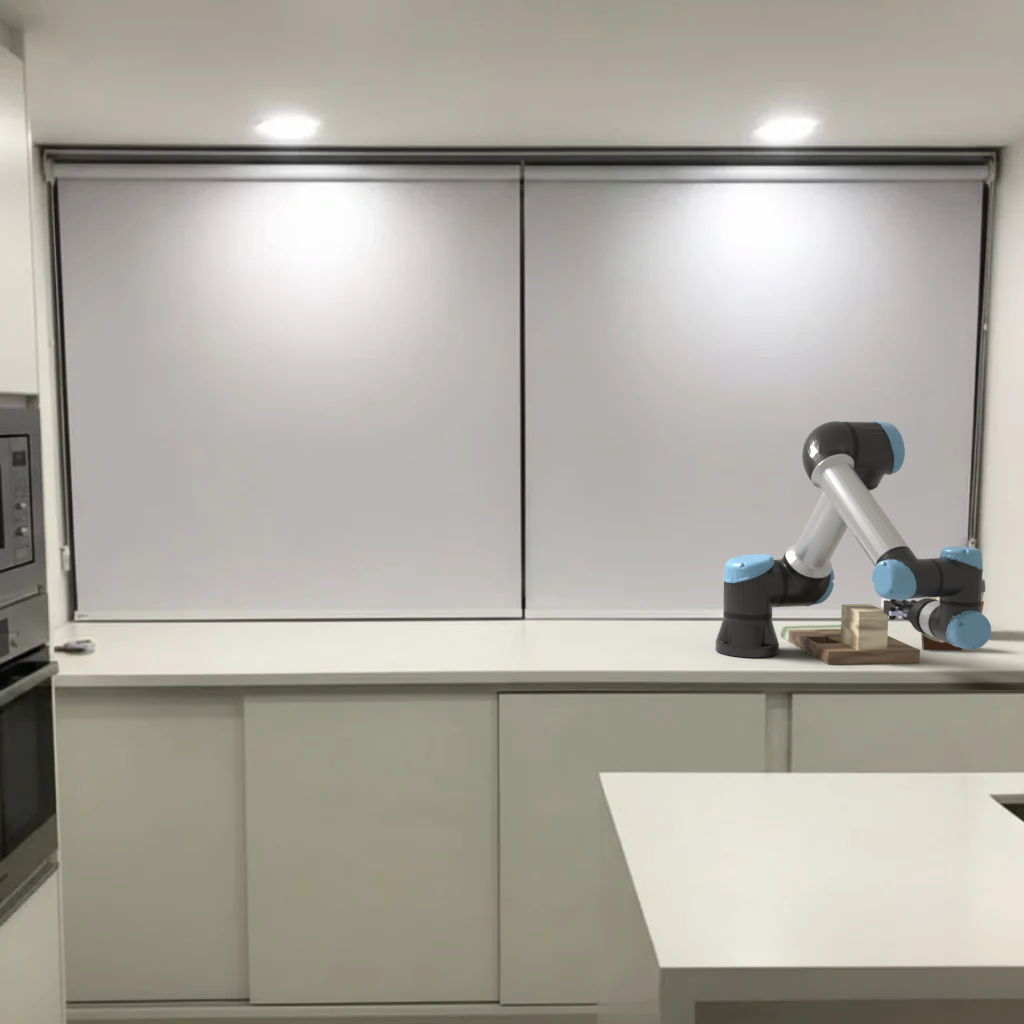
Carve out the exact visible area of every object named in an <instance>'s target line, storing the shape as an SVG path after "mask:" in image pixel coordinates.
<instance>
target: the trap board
mask: <svg viewBox="0 0 1024 1024" xmlns="http://www.w3.org/2000/svg"><path fill="white" fill-rule="evenodd" d="M780 636H781V637H780V638H782V637H783V638H782V639H784V638H785V639H787V640H788V641H787V640H786V641H787V642H789V641H790V642H789V643H791V644H792V643H793V644H792V645H794V644H795V645H794V646H796V647H797V646H798V647H797V648H799V647H800V648H799V649H801V648H802V649H801V650H802V651H804V650H805V651H804V652H806V651H807V652H806V653H808V652H809V653H810V655H811V654H812V655H811V656H813V655H814V656H813V657H815V656H816V657H817V658H816V657H815V658H816V659H818V658H819V659H818V660H819V661H821V660H822V662H823V663H825V664H827V665H867V664H869V665H870V664H877V665H878V664H913V663H912V662H920V659H921V655H920V654H921V649H919V648H916V647H914V646H912V645H910V644H907V643H905V642H903V641H900V640H898V639H897V638H894V637H892V636H889V635H888V636H887V650H857V649H855V648H853V647H851V646H849V645H847V644H845V643H843V642H841V623H839V624H838V623H837V624H836V623H834V624H789V625H788V624H781V625H780ZM785 639H784V640H785ZM809 653H808V654H809Z"/></svg>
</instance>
